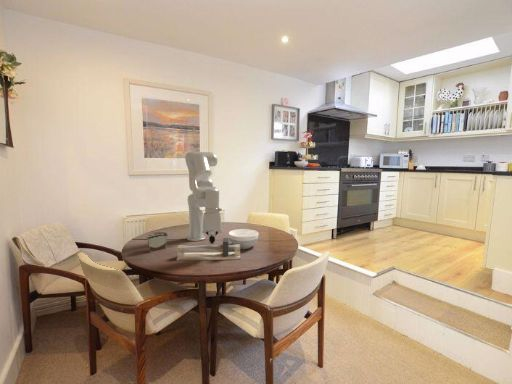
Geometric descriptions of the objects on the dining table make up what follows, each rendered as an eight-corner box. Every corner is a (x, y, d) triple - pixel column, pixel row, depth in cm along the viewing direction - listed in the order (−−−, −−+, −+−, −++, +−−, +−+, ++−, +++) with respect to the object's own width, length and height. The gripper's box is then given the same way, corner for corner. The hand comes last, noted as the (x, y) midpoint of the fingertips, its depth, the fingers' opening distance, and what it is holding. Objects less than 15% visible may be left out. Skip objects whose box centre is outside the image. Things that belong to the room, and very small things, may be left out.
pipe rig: (180, 254, 142) (179, 243, 141) (239, 253, 145) (239, 242, 144) (176, 260, 133) (176, 249, 132) (240, 259, 136) (240, 247, 136)
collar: (223, 251, 143) (223, 238, 142) (228, 251, 143) (228, 238, 143) (222, 256, 136) (222, 241, 135) (228, 256, 136) (228, 241, 135)
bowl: (223, 248, 153) (223, 234, 153) (236, 240, 171) (236, 227, 170) (251, 252, 147) (251, 238, 146) (262, 243, 164) (262, 230, 163)
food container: (163, 246, 156) (163, 230, 155) (168, 248, 152) (167, 232, 151) (143, 250, 147) (142, 234, 146) (147, 253, 143) (147, 236, 142)
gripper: (225, 209, 141) (225, 240, 143) (199, 209, 140) (199, 241, 142) (225, 212, 134) (225, 245, 136) (197, 212, 132) (197, 245, 134)
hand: (212, 242), depth 139 cm, fingers closed
